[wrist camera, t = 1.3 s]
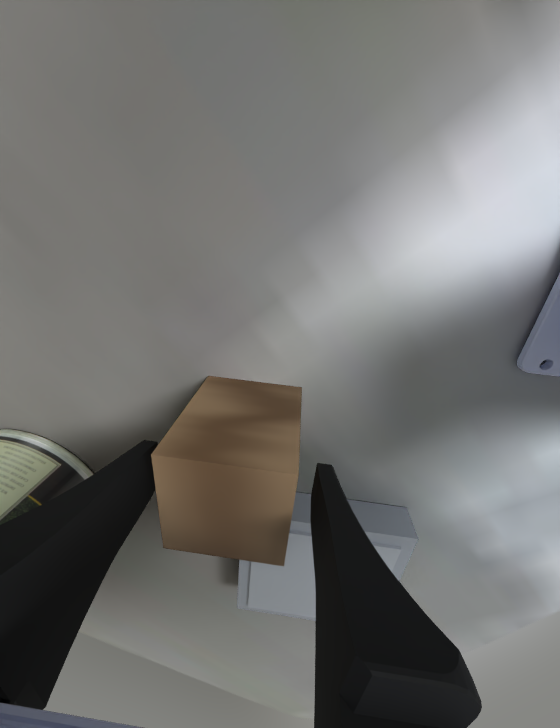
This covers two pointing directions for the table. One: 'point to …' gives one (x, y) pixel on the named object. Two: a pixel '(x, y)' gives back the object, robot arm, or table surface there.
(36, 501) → the coffee can
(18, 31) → the table surface
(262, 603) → the pedestal
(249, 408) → the walnut block
